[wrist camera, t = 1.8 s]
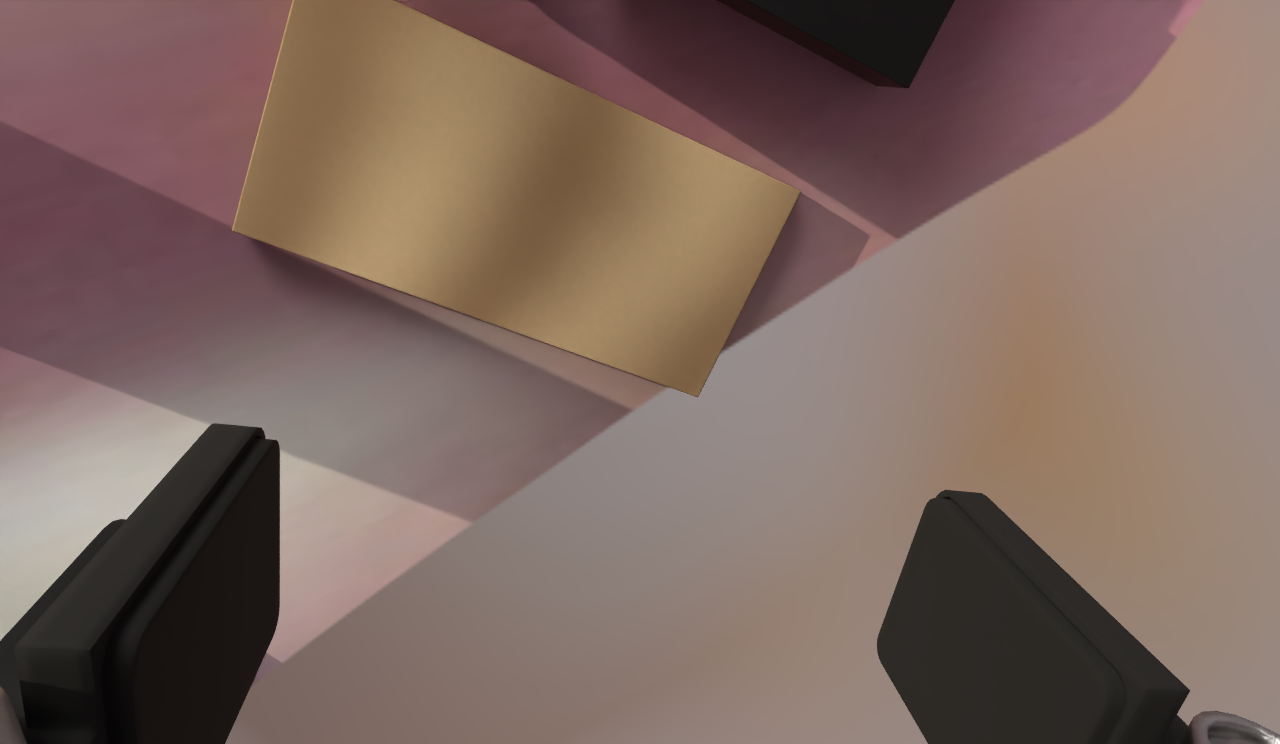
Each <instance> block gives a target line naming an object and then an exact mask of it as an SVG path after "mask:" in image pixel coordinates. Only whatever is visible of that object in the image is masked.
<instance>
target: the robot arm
mask: <svg viewBox="0 0 1280 744" xmlns="http://www.w3.org/2000/svg"><path fill="white" fill-rule="evenodd" d="M279 606H280V449H279V443H278V441H277V440H269V439H265V434H264V431H263V429H262V428H259V427H248V426H237V425H226V424H212V425H211V426H209V427H208V428H207V429H206V431H205V432H204V433H203V434H202V435H201V436H200V437H199V439H198V440H197V441H196V442H195V443H194V444H193V445H192V446H191V448H190V449H189V450H188V451H187V452H186V453H185V454H184V455H183V457H182V458H181V459H180V460H179V461H178V462H177V463H176V464H175V466H174V467H173V468H172V469H171V470H170V471H169V472H168V474H167V475H166V476H165V477H164V478H163V479H162V480H161V481H160V483H159V484H158V485H157V486H156V487H155V488H154V489H153V490H152V492H151V493H150V494H149V495H148V496H147V497H146V498H145V499H144V501H143V502H142V503H141V504H140V505H139V506H138V507H137V508H136V510H135V511H134V512H133V513H132V514H131V515H130V516H129V518H128V519H127V520H124V519H120V520H116V521H112V522H111V523H110V524H109V525H107V526H106V527H105V528H104V529H103V530H102V531H101V532H100V533H99V534H98V535H97V536H96V537H95V539H94V540H93V541H92V542H91V543H90V544H89V545H88V546H87V547H86V548H85V549H84V551H83V552H82V553H81V554H80V555H79V556H78V557H77V558H76V559H75V560H74V561H73V563H72V564H71V565H70V566H69V567H68V568H67V569H66V570H65V571H64V572H63V573H62V575H61V576H60V577H59V578H58V579H57V580H56V581H55V582H54V583H53V584H52V585H51V586H50V588H49V589H48V590H47V591H46V592H45V593H44V594H43V595H42V596H41V597H40V598H39V600H38V601H37V602H36V603H35V604H34V605H33V606H32V607H31V608H30V609H29V610H28V612H27V613H26V614H25V615H24V616H23V617H22V618H21V619H20V620H19V621H18V622H17V624H16V625H15V626H14V627H13V628H12V629H11V630H10V631H9V632H8V633H7V634H6V635H5V637H4V638H3V639H2V640H1V641H0V744H225V742H226V740H227V738H228V736H229V733H230V731H231V729H232V727H233V724H234V722H235V720H236V718H237V716H238V713H239V711H240V709H241V707H242V705H243V702H244V700H245V698H246V696H247V693H248V691H249V689H250V687H251V685H252V682H253V680H254V678H255V676H256V674H257V671H258V669H259V667H260V665H261V662H262V660H263V658H264V656H265V654H266V651H267V649H268V647H269V645H270V642H271V640H272V638H273V635H274V633H275V630H276V626H277V622H278V616H279ZM877 649H878V650H877V651H878V656H879V659H880V661H881V663H882V665H883V667H884V668H885V670H886V672H887V674H888V675H889V677H890V679H891V681H892V682H893V684H894V686H895V687H896V689H897V691H898V693H899V694H900V696H901V698H902V700H903V701H904V703H905V705H906V706H907V708H908V710H909V712H910V713H911V715H912V717H913V718H914V720H915V722H916V723H917V725H918V727H919V729H920V730H921V732H922V734H923V735H924V737H925V739H926V741H927V743H928V744H1280V735H1278V734H1277V733H1275V732H1273V731H1271V730H1269V729H1267V728H1265V727H1263V726H1261V725H1259V724H1257V723H1255V722H1252V721H1250V720H1247V719H1245V718H1242V717H1239V716H1237V715H1233V714H1229V713H1223V712H1219V711H1206V712H1201V713H1199V714H1198V715H1196V716H1195V717H1193V719H1192V721H1191V723H1190V724H1189V726H1187V725H1186V724H1185V722H1183V720H1182V719H1181V718H1180V717H1179V716H1177V713H1178V711H1179V709H1180V708H1181V706H1182V704H1183V702H1184V701H1185V699H1186V697H1187V695H1188V694H1189V692H1190V690H1189V689H1188V688H1187V687H1186V686H1185V685H1184V684H1183V683H1182V682H1181V681H1180V680H1179V679H1178V678H1177V677H1175V676H1174V675H1173V674H1172V673H1171V672H1170V671H1169V670H1168V669H1167V668H1166V667H1165V666H1164V665H1163V664H1162V663H1161V662H1160V661H1159V660H1158V659H1156V658H1155V656H1153V655H1152V654H1151V653H1150V652H1149V651H1148V650H1147V649H1146V648H1145V647H1144V646H1143V645H1142V644H1141V643H1140V642H1139V641H1138V640H1137V639H1136V638H1135V637H1134V636H1133V635H1131V634H1130V633H1129V632H1128V631H1127V630H1126V629H1125V628H1124V627H1123V626H1122V625H1121V624H1120V623H1119V622H1118V621H1117V620H1116V619H1115V618H1114V617H1113V616H1111V615H1110V614H1109V613H1108V612H1107V611H1106V610H1105V609H1104V608H1103V607H1102V606H1101V605H1100V604H1099V603H1098V602H1097V601H1096V600H1095V599H1094V598H1093V597H1092V596H1090V594H1088V593H1087V592H1086V591H1085V590H1084V589H1083V588H1082V587H1081V586H1080V585H1079V584H1078V583H1077V582H1076V581H1075V580H1074V579H1073V578H1072V577H1071V576H1070V575H1069V574H1068V573H1066V572H1065V571H1064V570H1063V569H1062V568H1061V567H1060V566H1059V565H1058V564H1057V563H1056V562H1055V561H1054V560H1053V559H1052V558H1051V557H1050V556H1049V555H1047V553H1046V552H1045V551H1043V550H1042V549H1041V548H1040V547H1039V546H1038V545H1037V544H1036V543H1035V542H1034V541H1033V540H1032V539H1031V538H1030V537H1029V536H1028V535H1027V534H1026V533H1025V532H1024V531H1022V530H1021V529H1020V528H1019V527H1018V526H1017V525H1016V524H1015V523H1014V522H1013V521H1012V520H1011V519H1010V518H1009V517H1008V516H1007V515H1006V514H1005V513H1004V512H1003V511H1001V509H999V508H998V507H997V506H996V505H995V504H994V503H993V502H992V501H991V500H990V499H989V498H988V497H987V496H985V495H983V494H982V493H974V492H963V491H951V490H944V491H942V492H940V493H939V494H938V495H937V497H936V498H933V499H931V500H930V501H929V502H928V503H927V504H926V506H925V508H924V511H923V514H922V517H921V519H920V522H919V525H918V528H917V530H916V533H915V536H914V539H913V542H912V544H911V547H910V550H909V552H908V555H907V558H906V561H905V563H904V566H903V569H902V572H901V574H900V577H899V580H898V583H897V585H896V588H895V591H894V594H893V596H892V599H891V602H890V605H889V608H888V610H887V613H886V616H885V619H884V621H883V624H882V627H881V629H880V633H879V635H878V639H877Z"/></svg>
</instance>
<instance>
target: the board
mask: <svg viewBox="0 0 1280 744" xmlns="http://www.w3.org/2000/svg"><path fill="white" fill-rule="evenodd" d="M800 193H801V191H800V190H798V189H795V188H793V187H791V186H789V185H787V184H785V183H783V182H781V181H778V180H776V179H774V178H772V177H770V176H768V175H766V174H763V173H761V172H759V171H757V170H755V169H753V168H751V167H749V166H746V165H744V164H742V163H740V162H738V161H736V160H734V159H731V158H729V157H727V156H725V155H723V154H721V153H719V152H717V151H714V150H712V149H710V148H708V147H706V146H704V145H702V144H700V143H697V142H695V141H693V140H691V139H689V138H687V137H685V136H682V135H680V134H678V133H676V132H674V131H672V130H670V129H668V128H665V127H663V126H661V125H659V124H657V123H655V122H653V121H650V120H648V119H646V118H644V117H642V116H640V115H638V114H636V113H633V112H631V111H629V110H627V109H625V108H623V107H621V106H619V105H616V104H614V103H612V102H610V101H608V100H606V99H604V98H601V97H599V96H597V95H595V94H593V93H591V92H589V91H587V90H584V89H582V88H580V87H578V86H576V85H574V84H572V83H569V82H567V81H565V80H563V79H561V78H559V77H557V76H555V75H552V74H550V73H548V72H546V71H544V70H542V69H540V68H538V67H535V66H533V65H531V64H529V63H527V62H525V61H523V60H520V59H518V58H516V57H514V56H512V55H510V54H508V53H506V52H503V51H501V50H499V49H497V48H495V47H493V46H491V45H488V44H486V43H484V42H482V41H480V40H478V39H476V38H474V37H471V36H469V35H467V34H465V33H463V32H461V31H459V30H457V29H454V28H452V27H450V26H448V25H446V24H444V23H442V22H439V21H437V20H435V19H433V18H431V17H429V16H427V15H425V14H422V13H420V12H418V11H416V10H414V9H412V8H410V7H408V6H405V5H403V4H401V3H399V2H397V1H395V0H293V1H292V5H291V9H290V12H289V16H288V20H287V24H286V28H285V31H284V35H283V39H282V43H281V47H280V50H279V54H278V58H277V62H276V65H275V69H274V73H273V77H272V81H271V84H270V88H269V92H268V96H267V100H266V103H265V107H264V111H263V115H262V119H261V122H260V126H259V130H258V134H257V137H256V141H255V145H254V149H253V153H252V156H251V160H250V164H249V168H248V172H247V175H246V179H245V183H244V187H243V191H242V194H241V198H240V202H239V206H238V210H237V213H236V217H235V221H234V225H233V228H232V230H233V231H234V232H237V233H239V234H242V235H245V236H248V237H251V238H253V239H256V240H259V241H262V242H265V243H267V244H270V245H273V246H276V247H279V248H281V249H284V250H287V251H290V252H293V253H295V254H298V255H301V256H304V257H306V258H309V259H312V260H315V261H318V262H320V263H323V264H326V265H329V266H332V267H334V268H337V269H340V270H343V271H346V272H348V273H351V274H354V275H357V276H360V277H362V278H365V279H368V280H371V281H374V282H376V283H379V284H382V285H385V286H388V287H390V288H393V289H396V290H399V291H402V292H404V293H407V294H410V295H413V296H416V297H418V298H421V299H424V300H427V301H430V302H432V303H435V304H438V305H441V306H444V307H446V308H449V309H452V310H455V311H458V312H460V313H463V314H466V315H469V316H472V317H474V318H477V319H480V320H483V321H486V322H488V323H491V324H494V325H497V326H500V327H502V328H505V329H508V330H511V331H514V332H516V333H519V334H522V335H525V336H528V337H530V338H533V339H536V340H539V341H542V342H544V343H547V344H550V345H553V346H556V347H558V348H561V349H564V350H567V351H570V352H572V353H575V354H578V355H581V356H584V357H586V358H589V359H592V360H595V361H598V362H600V363H603V364H606V365H609V366H612V367H614V368H617V369H620V370H623V371H626V372H628V373H631V374H634V375H637V376H640V377H642V378H645V379H648V380H651V381H653V382H656V383H659V384H662V385H665V386H667V387H670V388H673V389H676V390H679V391H681V392H684V393H687V394H690V395H693V396H696V397H698V396H699V394H700V392H701V390H702V388H703V386H704V384H705V382H706V380H707V378H708V376H709V374H710V372H711V370H712V368H713V366H714V364H715V362H716V360H717V358H718V356H719V354H720V352H721V350H722V348H723V346H724V344H725V342H726V340H727V338H728V336H729V334H730V332H731V330H732V328H733V326H734V324H735V322H736V320H737V318H738V316H739V314H740V312H741V310H742V308H743V306H744V304H745V302H746V300H747V298H748V296H749V294H750V292H751V290H752V289H753V287H754V285H755V283H756V281H757V279H758V277H759V275H760V273H761V271H762V269H763V267H764V265H765V263H766V261H767V259H768V257H769V255H770V253H771V251H772V249H773V247H774V245H775V243H776V241H777V239H778V237H779V235H780V233H781V231H782V229H783V227H784V225H785V223H786V221H787V219H788V217H789V215H790V213H791V211H792V209H793V207H794V205H795V203H796V201H797V199H798V197H799V195H800Z"/></svg>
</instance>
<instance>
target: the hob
mask: <svg viewBox="0 0 1280 744" xmlns="http://www.w3.org/2000/svg"><path fill="white" fill-rule="evenodd" d="M717 1H719V2H721V3H723V4H725V5H727V6H728V7H730V8H732V9H734V10H736V11H738V12H740V13H741V14H743V15H745V16H747V17H749V18H751V19H753V20H755V21H756V22H758V23H760V24H762V25H764V26H766V27H768V28H769V29H771V30H773V31H775V32H777V33H779V34H781V35H783V36H784V37H786V38H788V39H790V40H792V41H794V42H796V43H797V44H799V45H801V46H803V47H805V48H807V49H809V50H810V51H812V52H814V53H816V54H818V55H820V56H822V57H824V58H825V59H827V60H829V61H831V62H833V63H835V64H837V65H838V66H840V67H842V68H844V69H846V70H848V71H850V72H852V73H853V74H855V75H857V76H859V77H861V78H863V79H865V80H866V81H868V82H870V83H872V84H874V85H876V86H884V87H897V88H909V87H910V85H911V83H912V81H913V79H914V77H915V75H916V73H917V71H918V69H919V68H920V66H921V64H922V62H923V60H924V58H925V56H926V54H927V52H928V50H929V48H930V47H931V45H932V43H933V41H934V39H935V37H936V35H937V33H938V31H939V29H940V27H941V26H942V24H943V22H944V20H945V18H946V16H947V14H948V12H949V10H950V8H951V6H952V5H953V3H954V1H955V0H717Z"/></svg>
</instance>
